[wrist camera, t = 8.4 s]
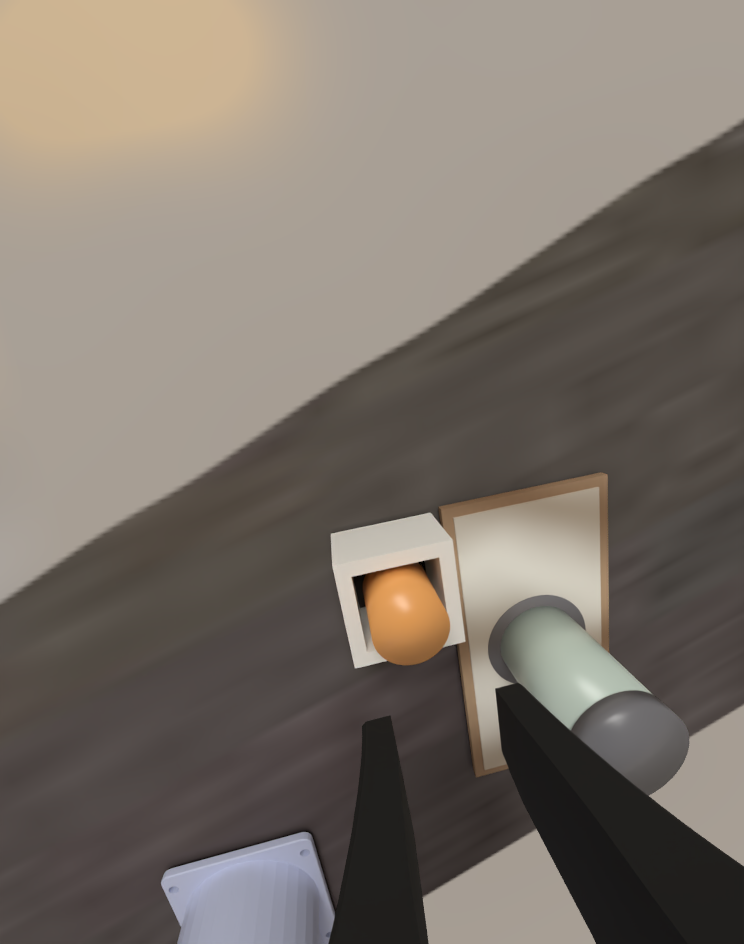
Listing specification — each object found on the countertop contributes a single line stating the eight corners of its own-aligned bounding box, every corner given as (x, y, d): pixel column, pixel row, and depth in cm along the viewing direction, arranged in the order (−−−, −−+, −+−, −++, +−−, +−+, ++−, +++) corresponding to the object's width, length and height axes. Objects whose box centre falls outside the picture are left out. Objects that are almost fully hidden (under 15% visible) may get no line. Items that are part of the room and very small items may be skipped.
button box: (442, 599, 18) (465, 641, 15) (349, 621, 18) (355, 668, 15) (430, 512, 17) (452, 539, 14) (330, 533, 16) (332, 566, 14)
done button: (431, 606, 16) (454, 654, 13) (368, 620, 16) (379, 673, 13) (422, 549, 16) (445, 587, 13) (357, 563, 15) (365, 605, 12)
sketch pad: (604, 734, 22) (611, 743, 21) (473, 770, 21) (477, 780, 20) (601, 472, 17) (610, 475, 17) (438, 506, 17) (442, 510, 16)
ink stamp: (577, 664, 19) (686, 785, 14) (502, 683, 19) (582, 816, 13) (575, 596, 18) (692, 696, 12) (496, 615, 18) (579, 727, 12)
